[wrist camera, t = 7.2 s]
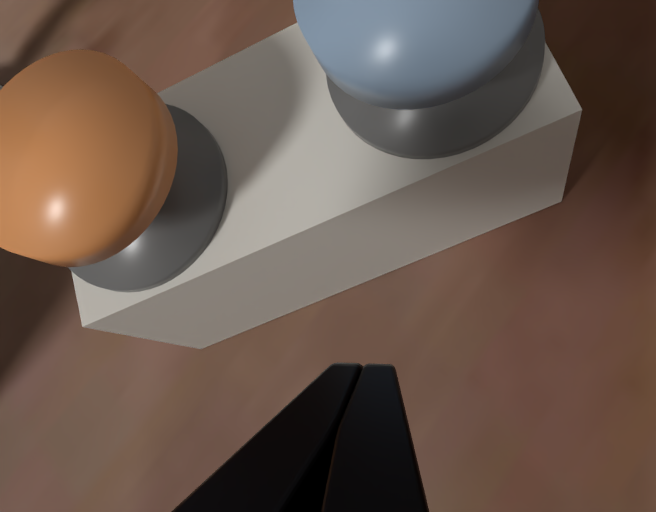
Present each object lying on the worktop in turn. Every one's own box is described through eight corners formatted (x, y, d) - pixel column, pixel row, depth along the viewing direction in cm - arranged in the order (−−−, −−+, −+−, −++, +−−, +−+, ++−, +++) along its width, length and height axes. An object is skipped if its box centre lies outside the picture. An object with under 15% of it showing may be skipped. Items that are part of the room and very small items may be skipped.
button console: (495, 62, 23) (487, -85, 16) (565, 199, 21) (589, 99, 14) (163, 215, 26) (34, 145, 19) (197, 350, 24) (68, 326, 17)
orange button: (238, 221, 16) (180, 182, 13) (77, 314, 17) (-8, 295, 14) (173, 71, 18) (111, 11, 15) (29, 162, 18) (-54, 120, 16)
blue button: (580, 68, 14) (595, -12, 12) (383, 179, 15) (354, 129, 12) (470, -80, 16) (461, -179, 13) (299, 26, 17) (258, -47, 14)
